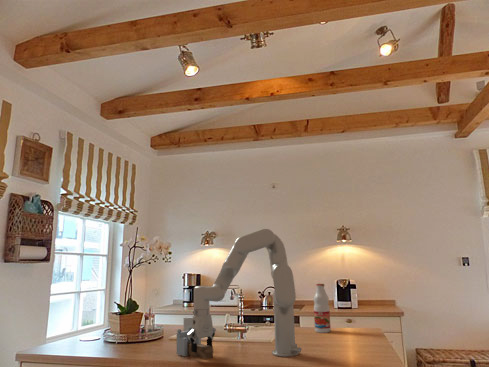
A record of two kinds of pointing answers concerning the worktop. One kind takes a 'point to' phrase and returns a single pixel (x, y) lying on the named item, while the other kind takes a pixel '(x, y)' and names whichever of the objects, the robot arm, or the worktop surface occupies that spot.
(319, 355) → the worktop surface
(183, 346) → the grey stepped block
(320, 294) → the fruit juice
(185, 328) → the skincare box
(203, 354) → the wooden block
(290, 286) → the robot arm
